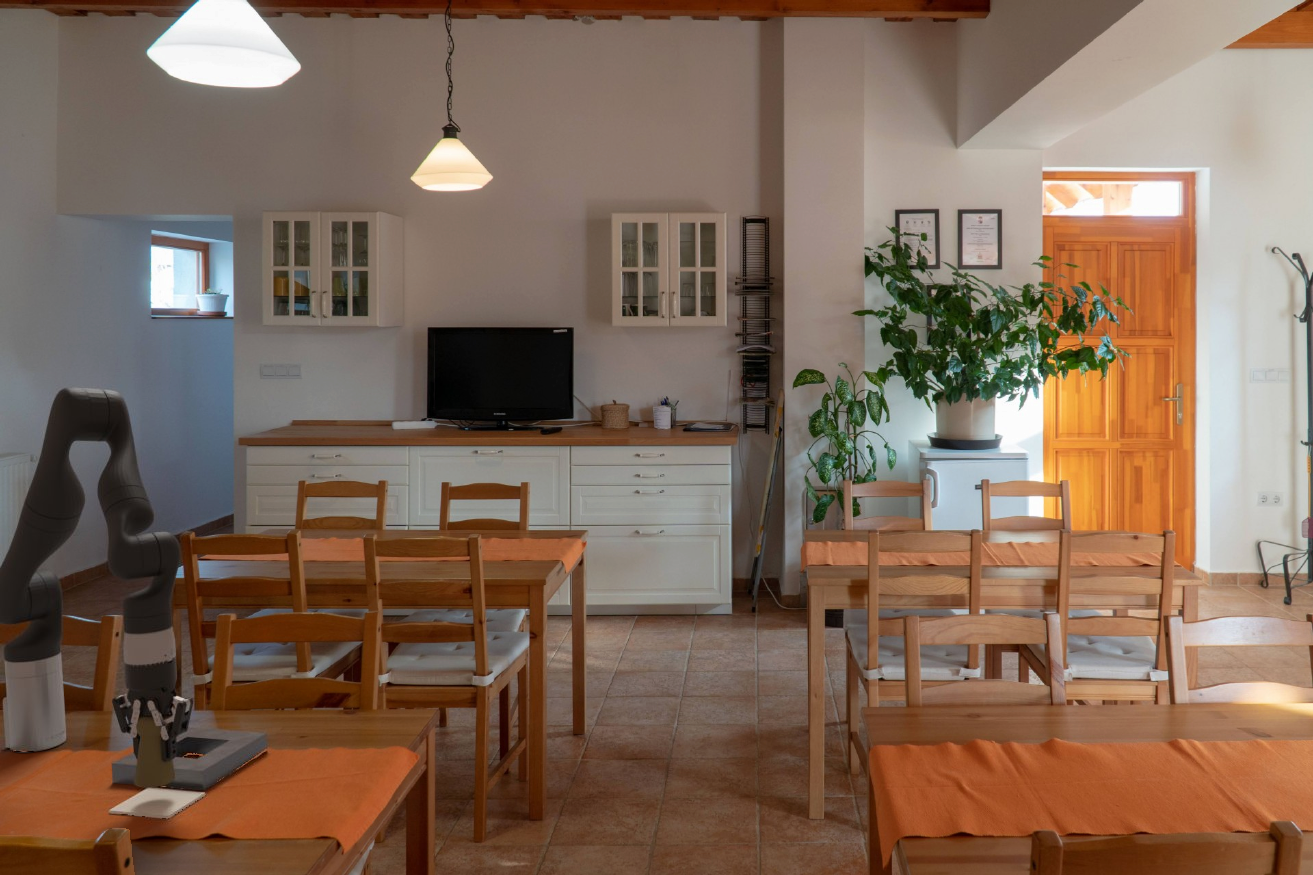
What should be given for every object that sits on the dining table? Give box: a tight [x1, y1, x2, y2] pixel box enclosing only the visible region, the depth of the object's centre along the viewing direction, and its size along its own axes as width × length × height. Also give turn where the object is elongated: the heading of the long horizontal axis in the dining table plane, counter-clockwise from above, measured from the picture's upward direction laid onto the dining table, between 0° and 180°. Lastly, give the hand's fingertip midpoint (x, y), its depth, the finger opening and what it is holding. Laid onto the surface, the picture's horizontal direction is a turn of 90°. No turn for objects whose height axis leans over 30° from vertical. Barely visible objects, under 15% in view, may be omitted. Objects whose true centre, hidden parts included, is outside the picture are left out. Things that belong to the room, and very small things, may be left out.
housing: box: [111, 726, 268, 791], centre depth 184 cm, size 18×18×4 cm
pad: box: [108, 787, 206, 820], centre depth 168 cm, size 11×9×1 cm
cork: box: [134, 715, 175, 789], centre depth 168 cm, size 6×6×11 cm
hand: (155, 758), depth 168 cm, fingers closed on cork, 4 cm apart
